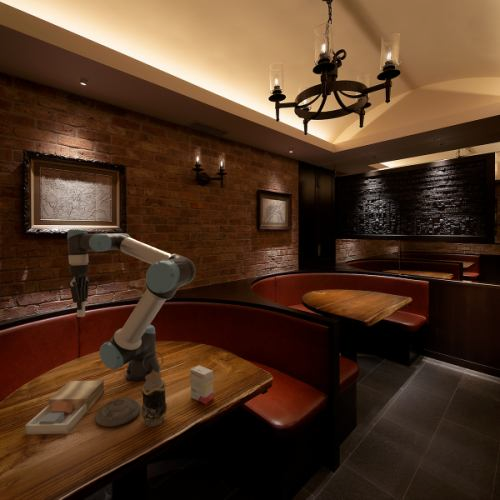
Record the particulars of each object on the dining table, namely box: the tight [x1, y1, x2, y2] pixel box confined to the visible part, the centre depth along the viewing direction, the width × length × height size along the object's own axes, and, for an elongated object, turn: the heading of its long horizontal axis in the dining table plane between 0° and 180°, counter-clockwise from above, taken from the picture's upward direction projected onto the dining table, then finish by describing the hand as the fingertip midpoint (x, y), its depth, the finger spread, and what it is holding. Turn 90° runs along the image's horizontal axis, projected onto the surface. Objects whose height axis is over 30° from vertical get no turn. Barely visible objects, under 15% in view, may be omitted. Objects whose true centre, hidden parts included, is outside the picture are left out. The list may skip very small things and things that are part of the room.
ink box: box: [189, 364, 214, 405], centre depth 114 cm, size 9×5×12 cm, turn 54°
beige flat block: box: [48, 380, 105, 412], centre depth 113 cm, size 14×13×5 cm
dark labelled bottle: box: [140, 351, 168, 427], centre depth 101 cm, size 9×8×25 cm
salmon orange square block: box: [50, 402, 74, 414], centre depth 103 cm, size 5×5×3 cm
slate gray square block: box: [39, 412, 64, 424], centre depth 98 cm, size 5×5×3 cm
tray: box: [24, 404, 88, 435], centre depth 100 cm, size 14×12×3 cm
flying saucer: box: [95, 397, 142, 428], centre depth 104 cm, size 15×15×6 cm
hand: (81, 316), depth 128 cm, fingers closed
